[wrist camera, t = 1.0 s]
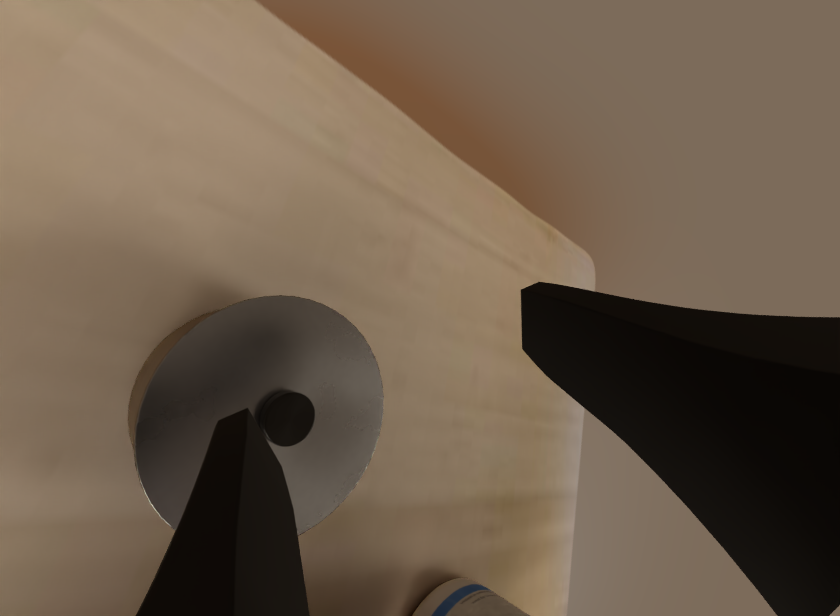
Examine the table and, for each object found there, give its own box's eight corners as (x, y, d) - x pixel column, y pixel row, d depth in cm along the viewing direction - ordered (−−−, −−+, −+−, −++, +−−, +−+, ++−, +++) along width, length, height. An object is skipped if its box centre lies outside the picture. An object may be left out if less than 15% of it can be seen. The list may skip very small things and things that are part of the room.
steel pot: (166, 552, 16) (195, 625, 12) (84, 339, 15) (86, 342, 11) (352, 441, 22) (412, 465, 18) (306, 282, 21) (360, 270, 17)
